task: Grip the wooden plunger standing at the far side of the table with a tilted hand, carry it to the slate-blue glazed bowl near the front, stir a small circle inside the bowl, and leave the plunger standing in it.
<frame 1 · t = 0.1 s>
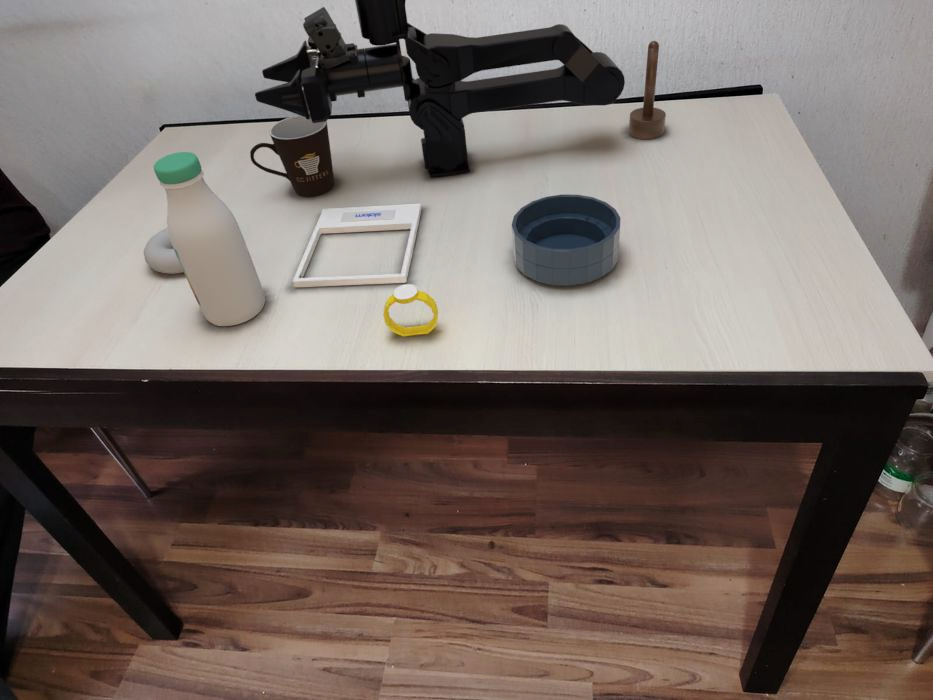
hand: (259, 85, 95), 17 cm above the table, tool horizontal, fingers open, 9 cm apart
watch: (415, 333, 77), on the table
wooden plunger: (646, 132, 109), on the table
photo frame: (362, 246, 92), on the table
donut: (186, 258, 94), on the table
coffee mug: (306, 188, 106), on the table
bowl: (565, 258, 85), on the table
milk bottle: (236, 309, 84), on the table
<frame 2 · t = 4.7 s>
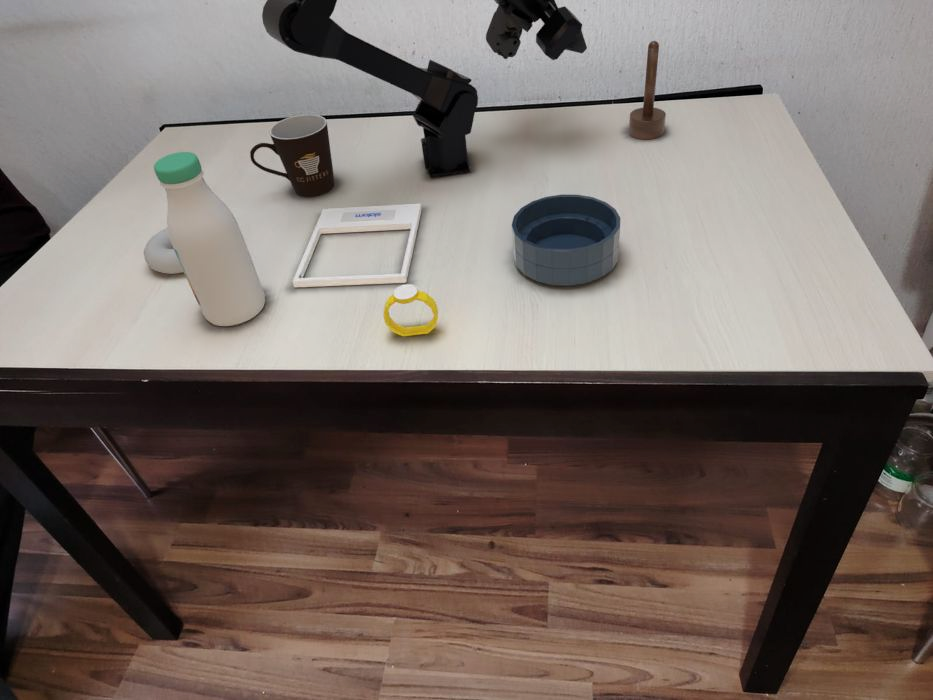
hand: (571, 34, 106), 14 cm above the table, tool tilted 50°, fingers open, 9 cm apart
nothing on the table moved.
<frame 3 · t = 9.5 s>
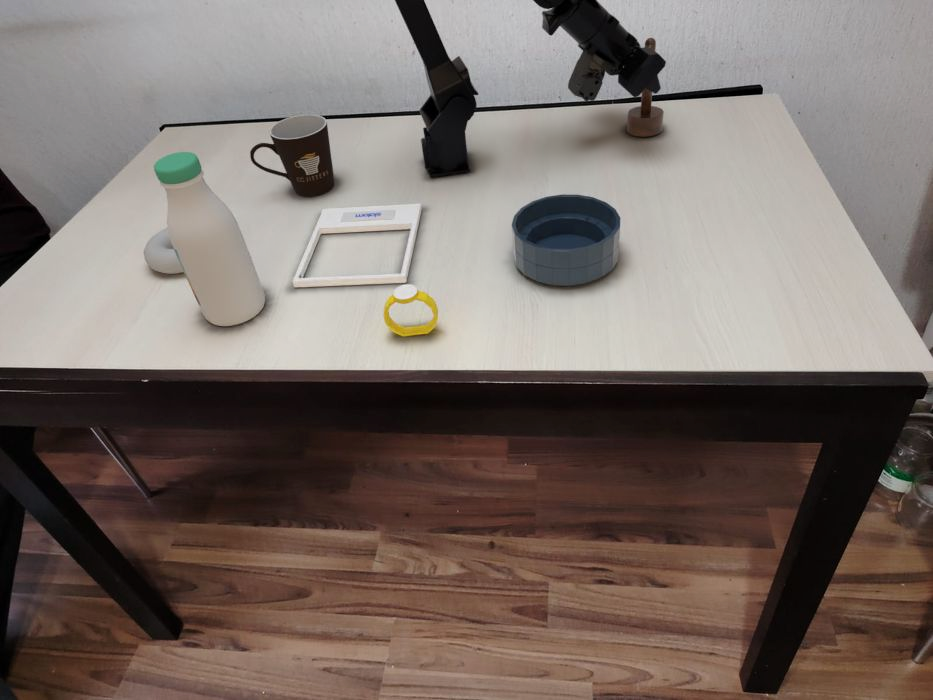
hand: (655, 88, 106), 7 cm above the table, tool tilted 45°, fingers closed on wooden plunger
wooden plunger: (644, 130, 110), on the table, touching gripper
everything else where it was.
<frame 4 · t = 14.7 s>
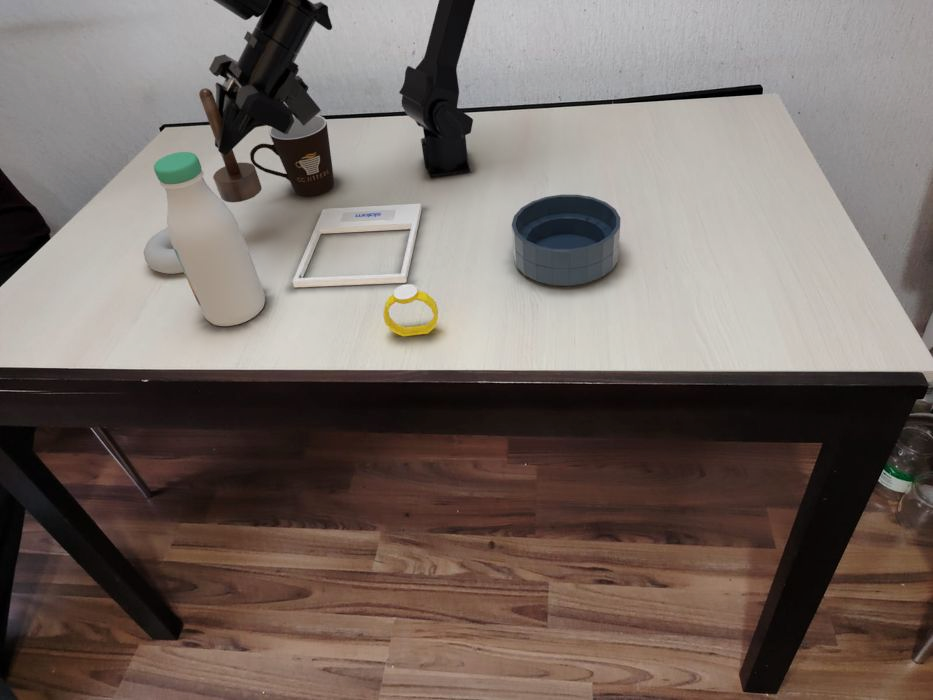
hand: (220, 150, 87), 13 cm above the table, tool tilted 45°, fingers closed on wooden plunger
wooden plunger: (241, 192, 92), point 7 cm above the table, touching gripper
everything else where it was.
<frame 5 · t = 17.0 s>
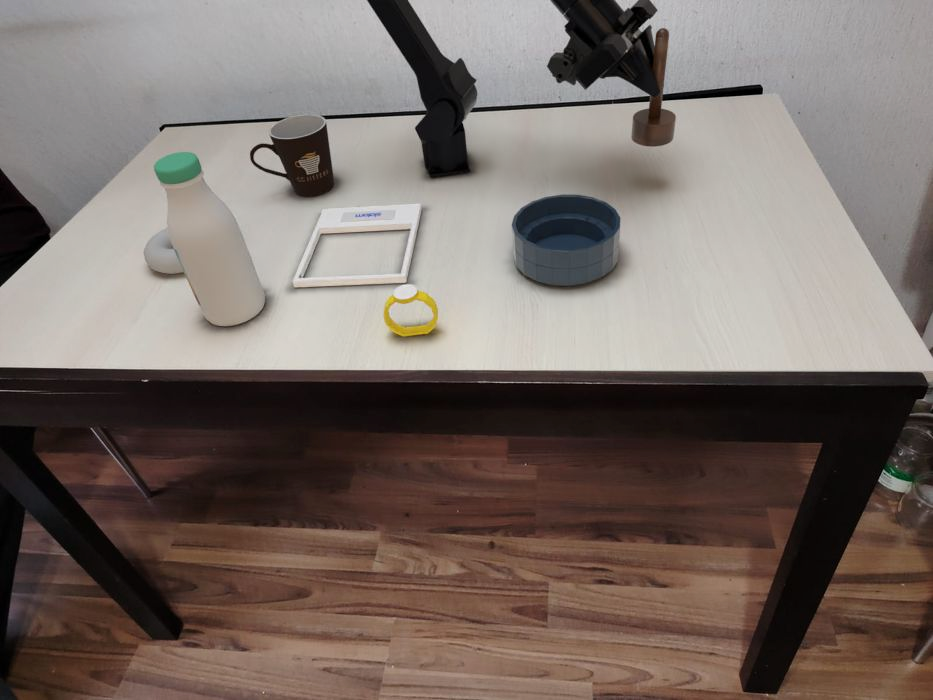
hand: (659, 91, 88), 13 cm above the table, tool tilted 45°, fingers closed on wooden plunger
wooden plunger: (652, 137, 92), point 7 cm above the table, touching gripper
everything else where it was.
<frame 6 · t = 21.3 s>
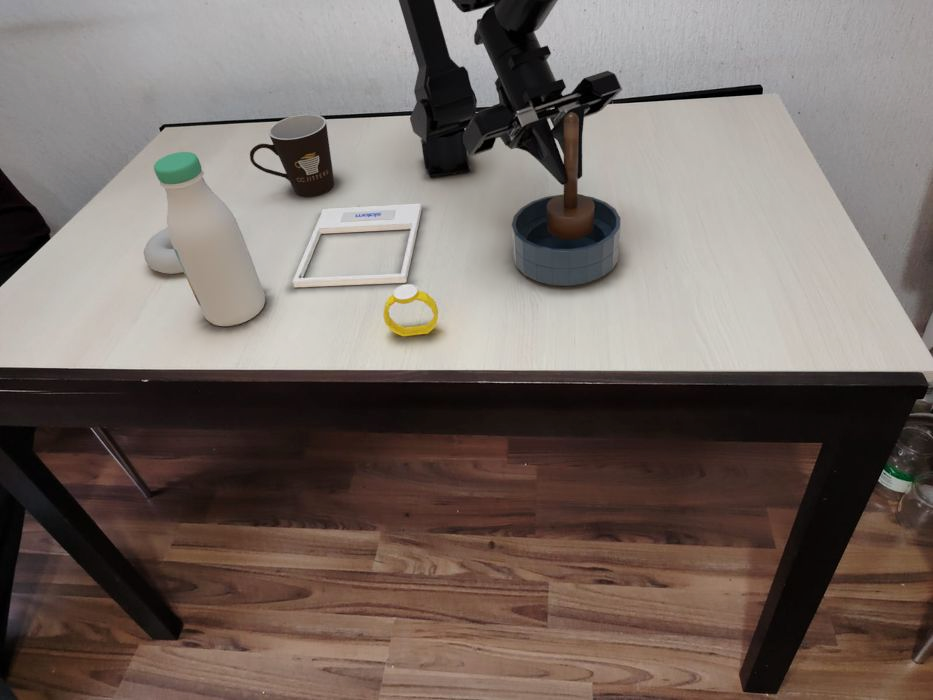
hand: (572, 180, 76), 11 cm above the table, tool tilted 45°, fingers closed on wooden plunger
wooden plunger: (570, 227, 81), point 5 cm above the table, touching gripper
everything else where it was.
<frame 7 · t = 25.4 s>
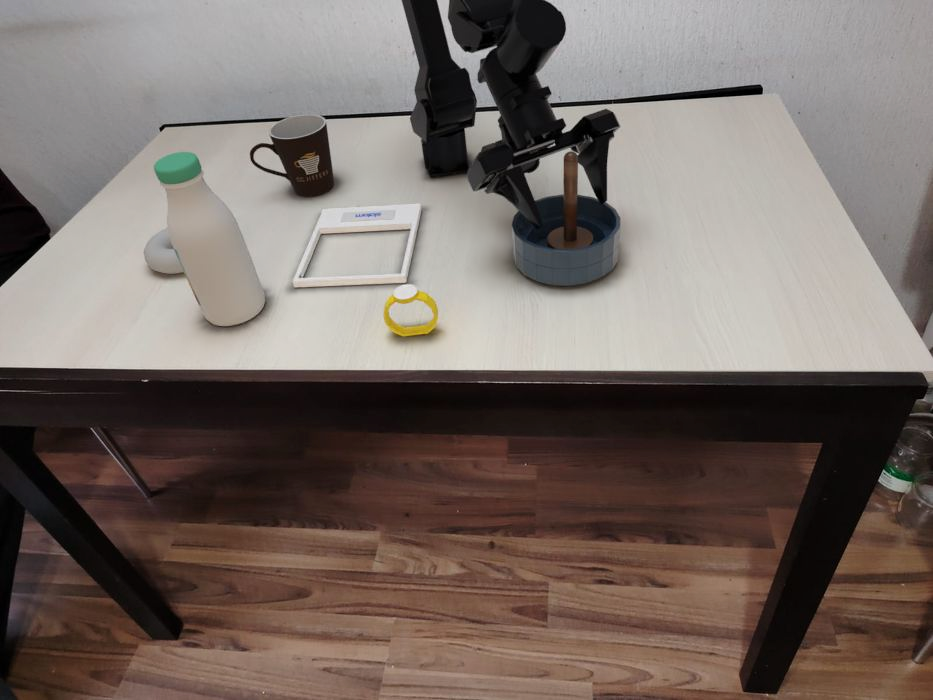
hand: (572, 215, 79), 7 cm above the table, tool tilted 45°, fingers open, 9 cm apart
wooden plunger: (569, 258, 84), point 1 cm above the table, touching bowl
everything else where it was.
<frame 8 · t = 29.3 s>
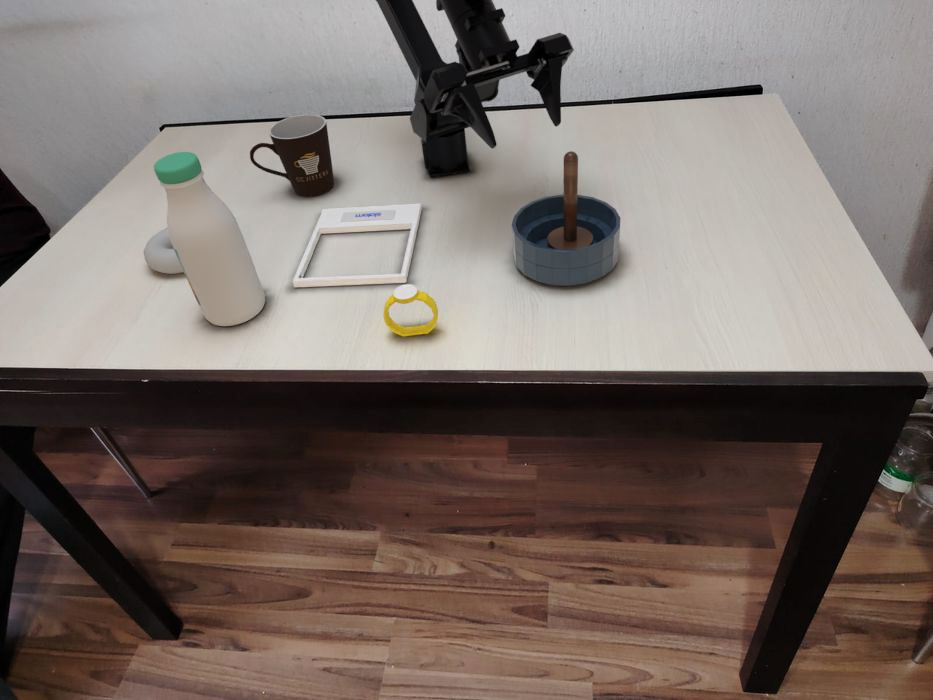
hand: (526, 135, 81), 14 cm above the table, tool tilted 45°, fingers open, 9 cm apart
nothing on the table moved.
at the end: wooden plunger inside the target area in the bowl (1.0 cm from its centre), point 0.6 cm above the bowl's base; the gripper is holding nothing; wooden plunger tilted 0° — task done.
